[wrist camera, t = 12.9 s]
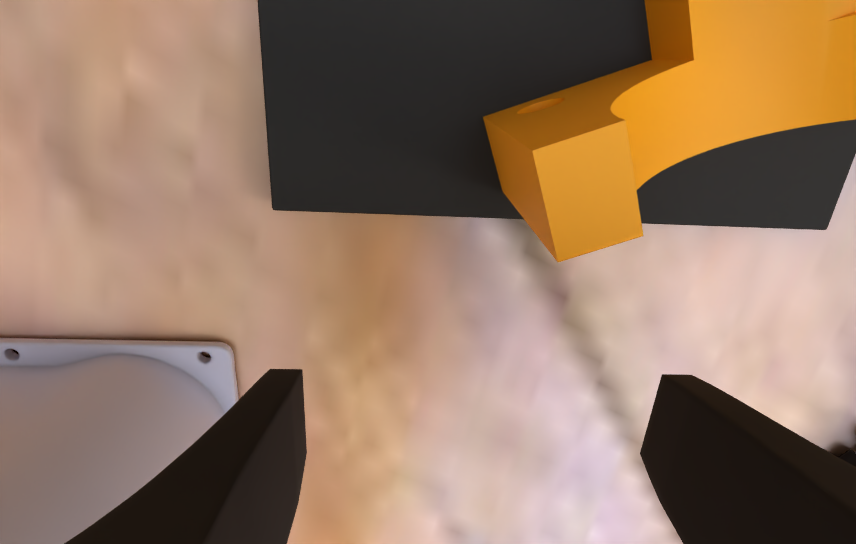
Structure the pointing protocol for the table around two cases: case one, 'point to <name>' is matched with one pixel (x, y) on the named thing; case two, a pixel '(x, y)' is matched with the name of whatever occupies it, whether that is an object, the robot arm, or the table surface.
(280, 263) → the table surface
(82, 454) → the robot arm
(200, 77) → the table surface
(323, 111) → the mat
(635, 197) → the pipe clamp
